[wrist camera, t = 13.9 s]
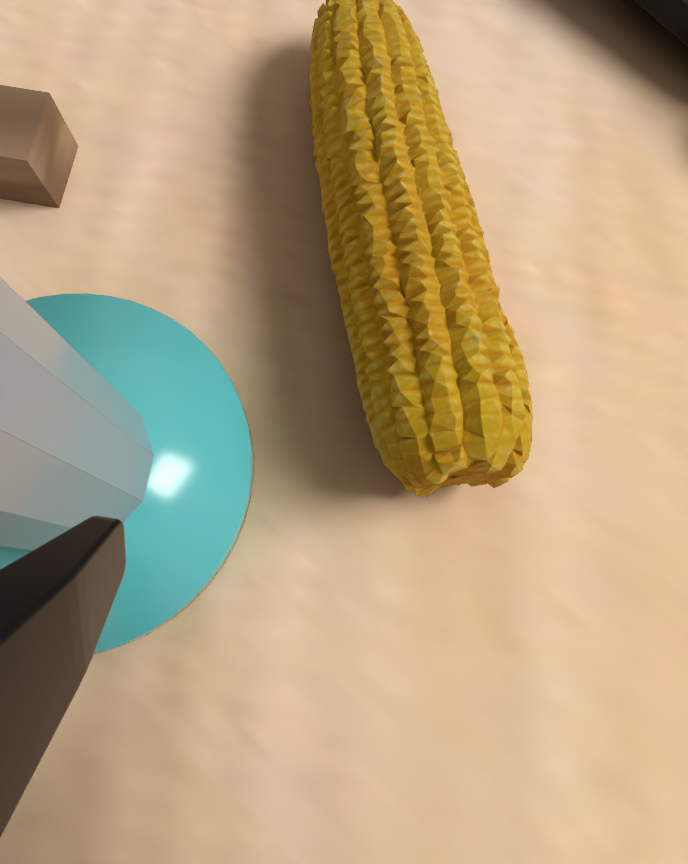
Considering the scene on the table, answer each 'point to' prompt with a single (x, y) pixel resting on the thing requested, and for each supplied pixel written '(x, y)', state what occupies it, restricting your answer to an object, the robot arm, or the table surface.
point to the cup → (60, 435)
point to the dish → (164, 454)
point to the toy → (669, 15)
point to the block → (33, 147)
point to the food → (411, 259)
